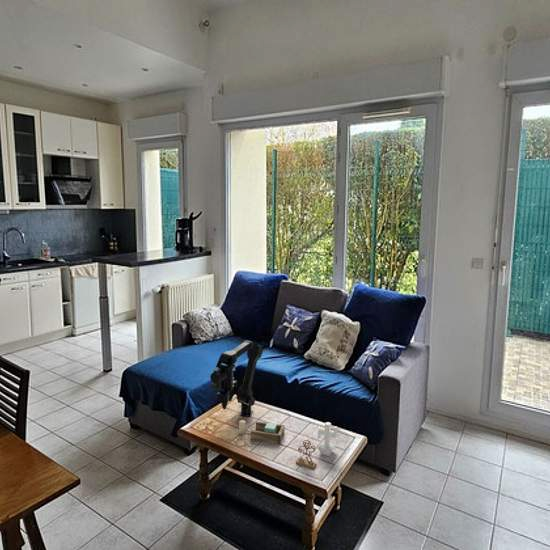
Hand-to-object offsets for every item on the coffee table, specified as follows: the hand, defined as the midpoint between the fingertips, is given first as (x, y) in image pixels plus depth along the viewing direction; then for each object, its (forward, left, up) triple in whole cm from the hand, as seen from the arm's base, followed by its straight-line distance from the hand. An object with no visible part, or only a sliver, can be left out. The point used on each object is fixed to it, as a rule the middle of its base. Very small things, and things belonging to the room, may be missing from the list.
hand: (227, 405), depth 220 cm
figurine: (+10, +53, -12) cm, 56 cm away
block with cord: (+4, +17, -12) cm, 21 cm away
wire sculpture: (+22, +45, -12) cm, 52 cm away
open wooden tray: (+4, +23, -12) cm, 26 cm away
